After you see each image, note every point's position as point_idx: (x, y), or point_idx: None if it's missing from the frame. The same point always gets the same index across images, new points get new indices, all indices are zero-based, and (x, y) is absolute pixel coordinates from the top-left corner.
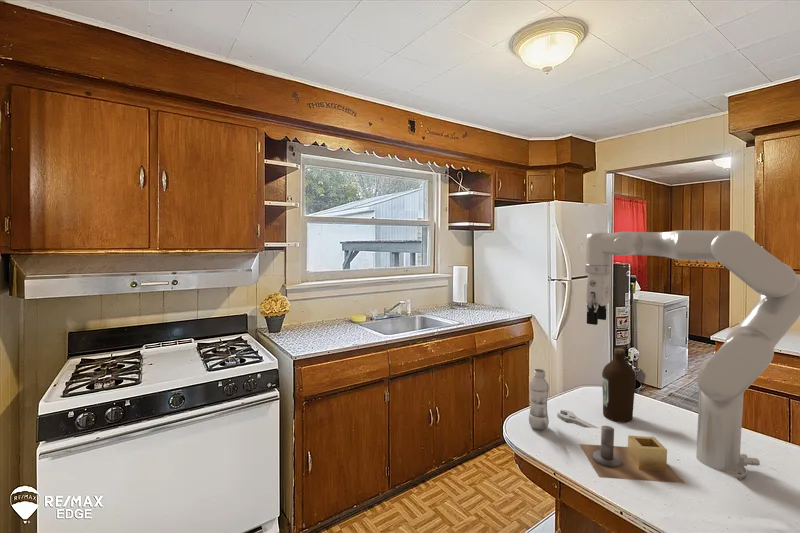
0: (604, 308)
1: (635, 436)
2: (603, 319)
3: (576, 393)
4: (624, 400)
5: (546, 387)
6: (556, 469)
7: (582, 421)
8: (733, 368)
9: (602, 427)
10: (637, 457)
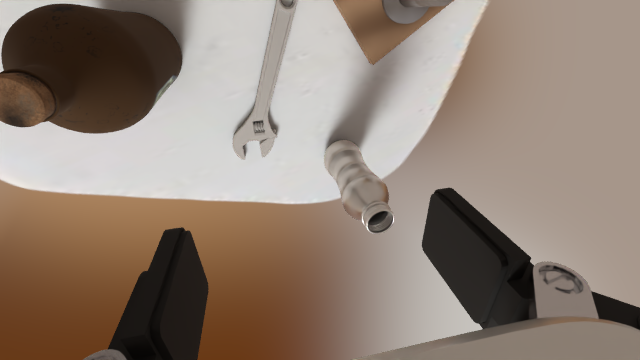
0: (151, 345)
1: None
2: (192, 240)
3: (97, 183)
4: (150, 30)
5: (375, 180)
6: (458, 64)
7: (260, 103)
8: None
9: (446, 2)
10: None
